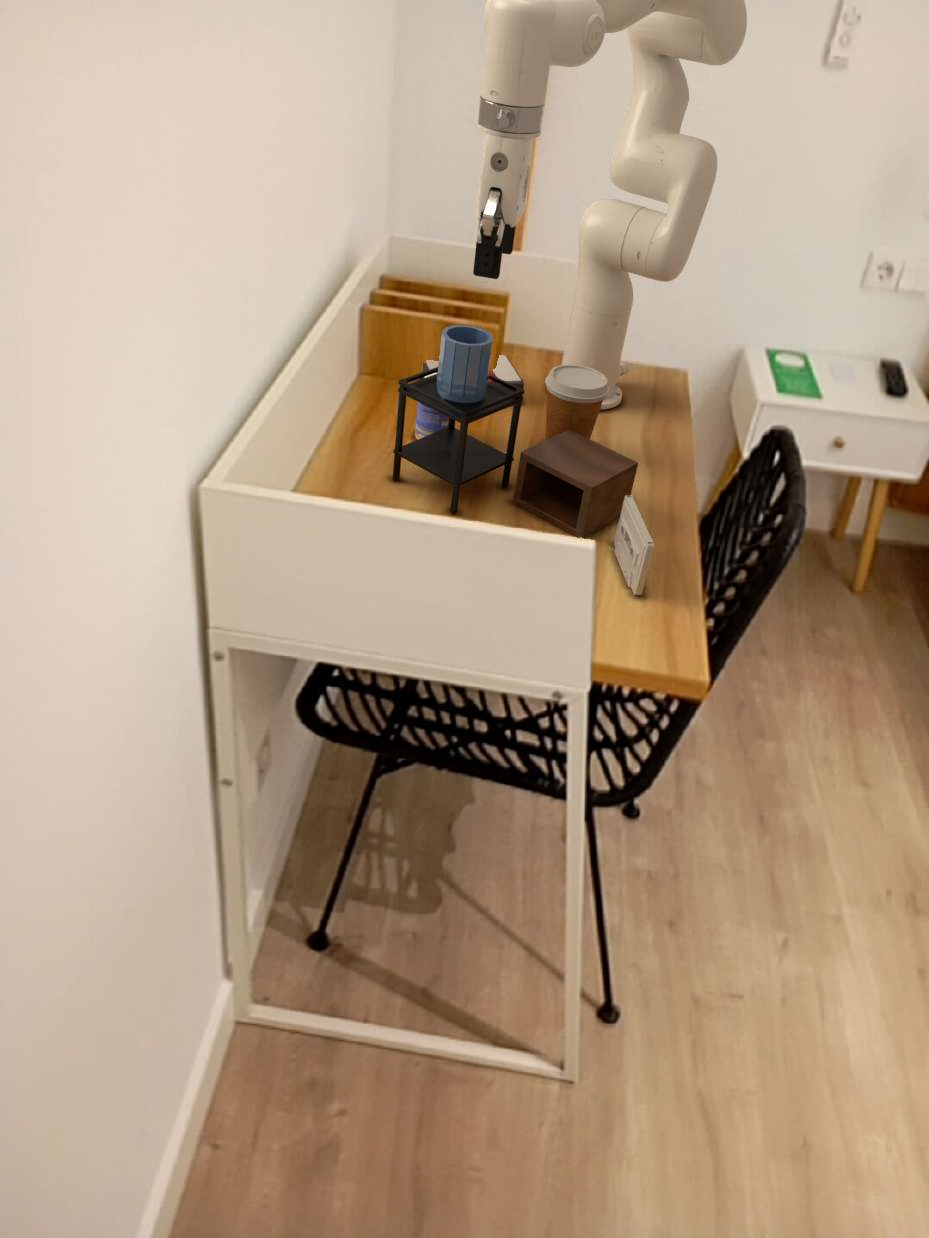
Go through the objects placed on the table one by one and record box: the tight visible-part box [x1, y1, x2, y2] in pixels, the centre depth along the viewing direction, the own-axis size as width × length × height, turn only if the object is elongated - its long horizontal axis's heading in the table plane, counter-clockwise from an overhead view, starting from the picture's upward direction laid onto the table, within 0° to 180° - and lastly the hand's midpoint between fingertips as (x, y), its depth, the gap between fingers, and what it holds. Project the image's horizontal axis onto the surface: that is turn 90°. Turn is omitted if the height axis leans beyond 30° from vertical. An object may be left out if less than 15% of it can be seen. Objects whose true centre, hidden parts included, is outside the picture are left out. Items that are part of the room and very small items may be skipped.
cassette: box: [613, 495, 655, 596], centre depth 129 cm, size 12×2×8 cm, turn 6°
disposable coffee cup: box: [544, 364, 609, 441], centre depth 153 cm, size 10×10×12 cm
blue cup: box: [437, 324, 495, 403], centre depth 133 cm, size 7×7×8 cm
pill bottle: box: [414, 373, 449, 440], centre depth 151 cm, size 5×5×10 cm
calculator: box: [420, 354, 525, 398], centre depth 168 cm, size 11×4×15 cm
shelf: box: [512, 430, 639, 539], centre depth 140 cm, size 11×12×8 cm
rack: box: [392, 367, 526, 515], centre depth 140 cm, size 12×12×15 cm
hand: (493, 264), depth 128 cm, fingers open, 9 cm apart
